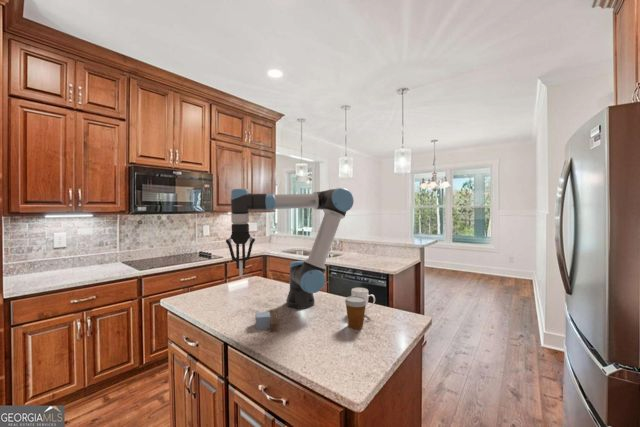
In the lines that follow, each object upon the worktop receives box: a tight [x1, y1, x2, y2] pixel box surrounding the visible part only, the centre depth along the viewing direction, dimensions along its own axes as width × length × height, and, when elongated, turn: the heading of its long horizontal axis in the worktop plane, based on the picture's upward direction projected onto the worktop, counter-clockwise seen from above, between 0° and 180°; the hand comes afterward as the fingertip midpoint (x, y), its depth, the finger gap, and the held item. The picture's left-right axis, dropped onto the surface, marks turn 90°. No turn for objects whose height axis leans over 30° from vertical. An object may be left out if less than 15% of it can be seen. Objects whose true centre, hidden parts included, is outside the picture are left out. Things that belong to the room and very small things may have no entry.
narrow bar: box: [268, 309, 279, 333], centre depth 126 cm, size 3×16×4 cm, turn 13°
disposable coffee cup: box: [344, 295, 368, 330], centre depth 125 cm, size 10×10×12 cm
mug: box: [350, 287, 376, 311], centre depth 141 cm, size 12×8×11 cm
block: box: [255, 311, 270, 330], centre depth 125 cm, size 6×6×5 cm
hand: (241, 275), depth 129 cm, fingers closed
